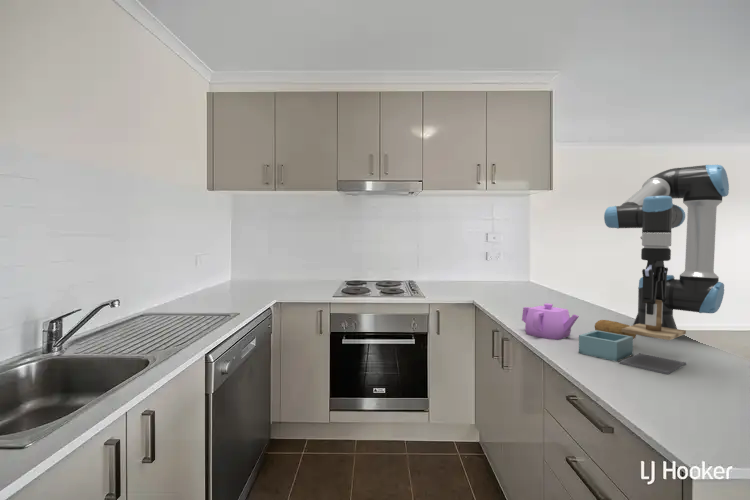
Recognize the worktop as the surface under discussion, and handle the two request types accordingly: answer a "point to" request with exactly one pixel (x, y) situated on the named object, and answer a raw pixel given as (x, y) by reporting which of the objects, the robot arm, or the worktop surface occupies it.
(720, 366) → the worktop surface
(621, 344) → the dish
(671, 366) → the mat
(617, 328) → the potato
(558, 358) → the worktop surface
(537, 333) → the teakettle
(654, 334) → the lid
